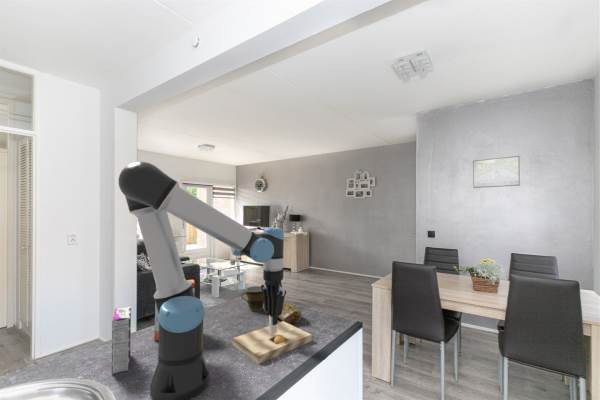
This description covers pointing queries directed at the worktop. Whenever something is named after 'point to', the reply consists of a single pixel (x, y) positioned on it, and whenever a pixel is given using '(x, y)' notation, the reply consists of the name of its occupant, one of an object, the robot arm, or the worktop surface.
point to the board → (270, 342)
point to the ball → (279, 339)
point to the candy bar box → (121, 340)
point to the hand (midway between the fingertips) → (272, 332)
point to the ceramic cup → (254, 298)
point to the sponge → (290, 313)
